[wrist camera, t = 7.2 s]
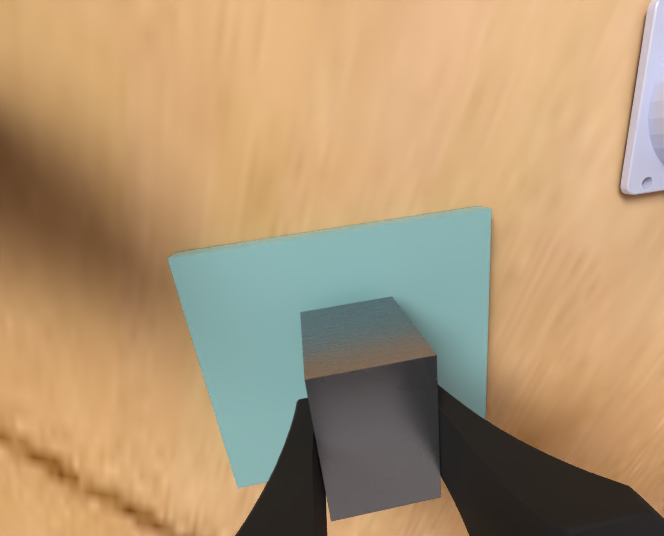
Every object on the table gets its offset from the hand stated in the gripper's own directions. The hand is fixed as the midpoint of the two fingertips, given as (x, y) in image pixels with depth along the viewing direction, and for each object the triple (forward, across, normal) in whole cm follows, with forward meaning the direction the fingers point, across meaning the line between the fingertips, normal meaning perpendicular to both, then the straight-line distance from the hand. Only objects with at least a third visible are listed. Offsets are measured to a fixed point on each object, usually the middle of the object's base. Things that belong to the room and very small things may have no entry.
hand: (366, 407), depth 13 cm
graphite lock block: (+2, 0, -1) cm, 2 cm away
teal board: (+4, 0, 0) cm, 4 cm away
